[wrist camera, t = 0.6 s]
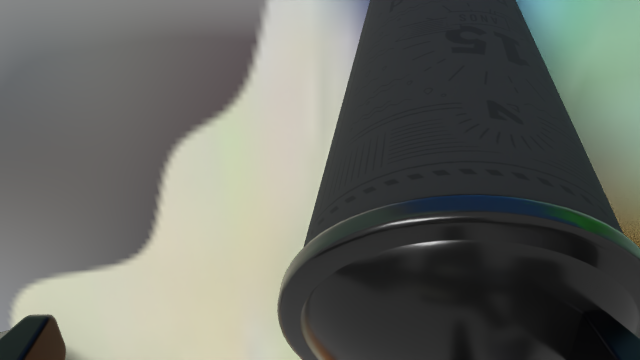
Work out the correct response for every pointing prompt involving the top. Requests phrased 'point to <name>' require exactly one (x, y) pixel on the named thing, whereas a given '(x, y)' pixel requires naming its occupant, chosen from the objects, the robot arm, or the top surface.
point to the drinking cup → (454, 202)
